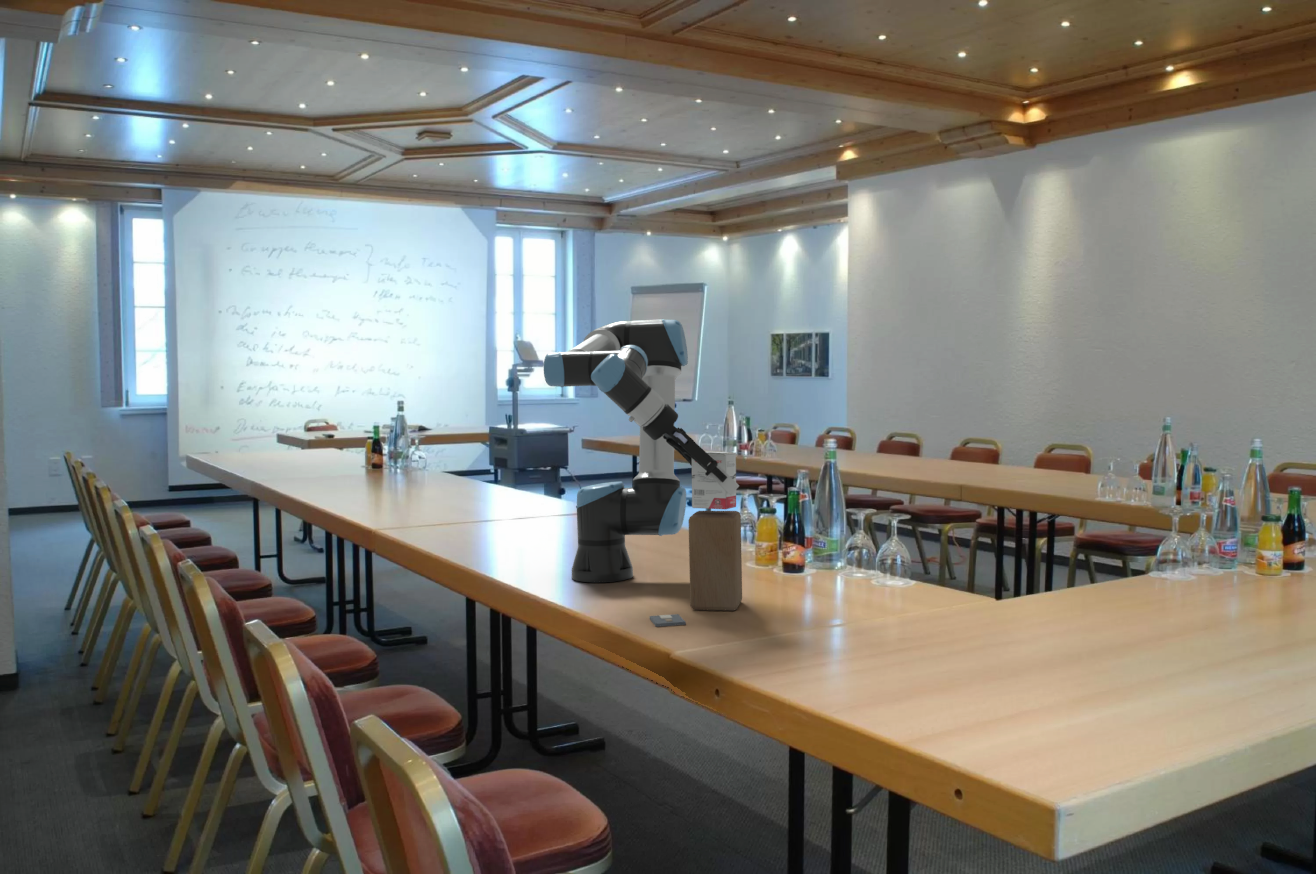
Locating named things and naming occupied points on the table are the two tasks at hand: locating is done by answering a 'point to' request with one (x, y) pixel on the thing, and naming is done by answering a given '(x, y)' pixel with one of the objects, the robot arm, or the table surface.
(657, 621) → the card
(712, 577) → the block
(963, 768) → the table surface
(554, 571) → the table surface
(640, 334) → the robot arm
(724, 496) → the ink box
